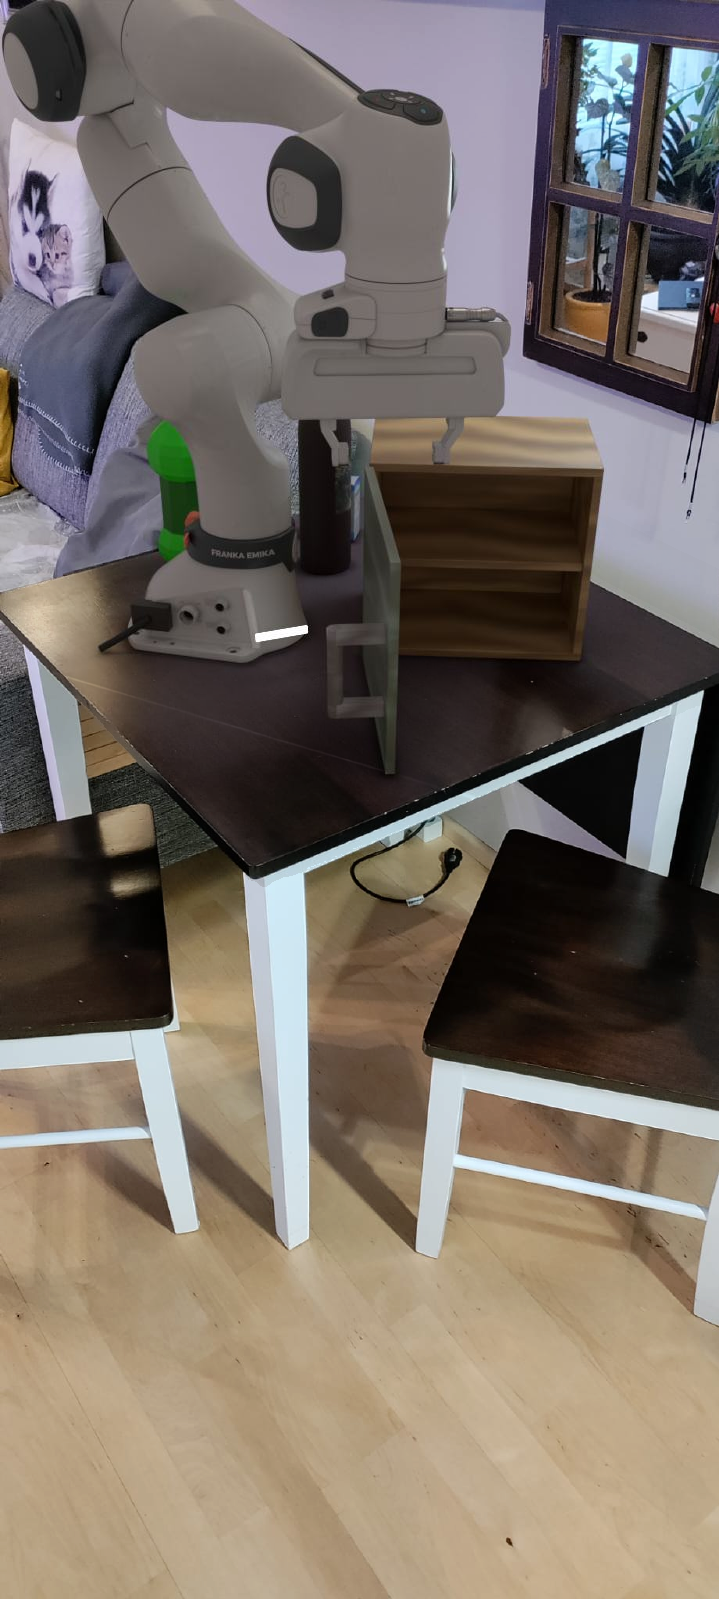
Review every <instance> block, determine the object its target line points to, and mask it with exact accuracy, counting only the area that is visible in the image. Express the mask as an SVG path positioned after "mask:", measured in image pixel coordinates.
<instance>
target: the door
mask: <svg viewBox="0 0 719 1599" xmlns="http://www.w3.org/2000/svg"><path fill="white" fill-rule="evenodd" d="M363 470H364V472H363V474H364V475H363V482H364V483H363V556H362V558H363V559H362V560H363V563H362V565H363V568H362V569H363V570H362V576H363V577H362V623H338V624H335V623H334V624H329V625H328V626H326V680H327V682H326V685H327V686H326V688H327V690H326V691H327V695H326V696H327V698H326V699H327V702H326V703H327V717H328V718H329V719H333V720H336V719H337V720H338V719H339V720H340V719H359V718H360V719H361V718H364V719H365V718H374V723H375V728H376V734H377V738H378V739H377V740H378V744H379V748H380V749H379V750H380V754H381V758H382V765H383V769H384V774H385V775H396V750H397V747H396V746H397V715H398V714H397V712H398V680H399V655H398V648H399V614H400V579H401V561H400V558H399V554H398V551H397V547H396V544H395V540H394V537H393V534H392V530H391V527H390V523H389V520H388V516H387V513H386V509H385V506H384V502H383V499H382V495H381V492H380V488H379V485H378V481H377V478H376V475H375V471H374V468H373V467H369V466H364V468H363ZM344 646H362V661H363V666H364V671H365V676H366V677H365V678H366V682H367V686H368V691H369V696H354V697H353V696H351V697H349V696H348V697H344Z"/></svg>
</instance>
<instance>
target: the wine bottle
mask: <svg viewBox="0 0 719 1599" xmlns="http://www.w3.org/2000/svg"><path fill="white" fill-rule="evenodd" d="M297 421H298V422H297V463H298V466H297V467H298V468H297V469H298V471H297V472H298V513H299V514H298V515H299V554H300V555H299V561H300V565H301V568H302V569H303V570H304V571H307V572H308V573H312V574H317V575H335V574H340V573H343V572H345V571H346V570H348V569H349V568H350V565H351V563H352V562H351V561H352V541H351V476H352V420H351V419H336V430H335V431H333V433H334V435H335V436H336V438H337V440H338V442H347V444H348V448H349V456H348V460H349V464H348V466H333V465H332V448H331V447H330V445H329V443H328V442H327V440H326V438H325V437H324V435H323V433H322V432H321V427H320V420H297Z"/></svg>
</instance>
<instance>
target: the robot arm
mask: <svg viewBox="0 0 719 1599" xmlns="http://www.w3.org/2000/svg"><path fill="white" fill-rule="evenodd" d="M1 50H2V57H3V62H4V66H5V70H6V74H7V76H8V80H9V82H10V84H11V86H12V89H13V91H14V93H15V95H16V97H17V99H18V101H19V102H20V104H21V105H22V106H23V108H24V109H25V110H26V111H28V113H29V114H31V115H32V116H33V117H35V118H36V119H37V120H38V121H41V122H46V123H47V122H48V123H64V122H65V123H66V122H73V121H75V120H76V118H77V117H83V118H82V120H81V121H80V123H79V126H78V128H77V131H76V140H75V142H76V149H77V153H78V154H77V155H78V157H79V160H80V164H81V166H82V169H83V172H84V175H85V177H86V180H87V183H88V185H89V187H90V190H91V192H92V195H93V197H94V200H95V202H96V203H97V206H98V208H99V210H100V212H101V214H102V216H103V217H104V220H105V221H106V224H107V226H108V227H109V230H110V231H111V233H112V235H113V237H114V238H115V240H116V241H117V244H118V246H119V248H120V249H121V251H122V253H123V255H124V256H125V258H126V260H127V262H128V264H129V265H130V267H131V269H132V270H133V272H134V274H135V276H136V278H137V279H138V281H139V283H140V284H141V285H142V287H143V288H144V289H145V290H146V291H147V292H149V293H150V294H151V295H153V297H154V296H155V297H157V298H158V299H160V300H163V301H164V302H168V303H171V304H173V305H175V306H177V307H179V308H181V309H182V310H184V311H185V312H187V313H186V314H181V315H177V316H176V317H173V318H171V319H170V320H168V321H165V322H164V323H161V324H160V325H158V326H156V327H155V328H153V329H151V330H149V331H147V332H146V333H145V334H143V336H141V338H140V339H139V341H138V343H137V346H136V348H135V351H134V352H135V353H134V358H133V359H134V360H133V375H134V380H135V385H136V388H137V390H138V392H139V395H140V397H141V399H142V400H143V402H144V403H145V405H146V406H147V407H148V408H149V410H151V411H152V412H153V413H154V414H155V416H157V417H158V418H159V419H161V420H162V421H163V420H165V421H167V422H168V423H169V424H171V425H172V426H173V427H174V428H175V429H176V430H177V431H178V433H179V434H180V435H181V437H182V438H183V440H184V442H185V444H186V446H187V448H188V450H189V452H190V455H191V458H192V462H193V466H194V471H195V478H196V486H197V495H198V505H199V512H197V511H192V512H190V513H189V515H188V516H187V519H186V521H185V526H186V528H185V530H184V547H185V550H184V551H183V552H181V553H180V554H179V555H177V556H176V557H175V558H173V559H172V560H170V561H169V562H166V563H165V564H163V565H162V566H161V567H159V568H158V569H157V571H155V573H154V575H152V577H151V579H150V581H149V583H148V585H147V588H146V591H145V595H144V596H145V597H144V598H135V599H133V601H132V602H131V603H130V604H129V606H130V618H129V621H128V625H127V628H126V629H125V630H123V631H122V632H119V633H118V634H116V635H115V636H113V637H111V638H110V639H108V640H105V641H104V642H102V643H101V644H99V645H98V646H97V648H98V651H99V652H101V653H104V652H105V651H107V650H109V649H111V648H113V647H115V646H116V645H118V644H119V643H121V642H123V641H124V640H128V643H129V644H130V646H131V647H132V648H133V649H134V650H137V651H138V650H139V651H144V652H152V653H159V654H167V655H175V656H185V657H192V658H200V659H206V660H214V661H221V662H222V661H223V662H231V663H238V664H244V663H245V664H246V663H249V662H252V661H254V660H256V659H258V658H259V657H261V656H262V655H265V654H267V653H271V652H275V651H278V650H282V649H284V648H287V647H289V646H292V645H293V644H295V643H296V642H298V641H300V640H301V639H302V638H303V637H304V636H305V634H308V632H309V631H308V622H307V619H306V617H305V614H304V611H303V610H304V609H303V606H302V603H301V599H300V595H299V589H298V582H297V576H296V565H297V562H298V535H297V533H298V532H297V531H296V520H295V519H294V518H293V516H292V480H291V479H292V478H291V476H292V475H291V464H290V461H289V458H288V456H287V454H286V453H285V452H284V450H283V449H282V448H281V447H280V446H278V445H277V444H276V443H275V442H273V441H271V440H270V439H269V438H266V437H263V436H261V435H260V432H259V429H258V424H257V421H256V408H257V406H259V405H262V404H266V403H270V402H273V401H276V400H279V399H280V405H281V410H282V412H283V413H284V414H285V415H286V416H287V417H288V419H290V420H293V421H299V420H320V427H321V432H322V433H323V435H324V437H325V438H326V440H327V442H328V443H329V445H330V447H331V448H332V465H333V466H348V464H349V460H348V456H349V448H348V444H347V442H338V440H337V438H336V436H335V435H334V433H333V431H335V430H336V419H350V420H375V419H398V418H446V422H447V425H448V427H449V428H448V429H447V431H446V433H445V434H444V436H443V438H442V439H441V441H432V449H433V452H432V462H433V464H434V465H436V464H449V462H450V448H451V447H452V446H453V444H454V443H455V441H456V440H457V438H458V437H459V435H460V434H461V432H462V431H463V429H464V418H466V417H495V416H498V415H499V413H500V412H501V410H503V408H504V406H505V398H506V397H505V394H506V381H505V366H504V365H505V364H504V357H506V355H507V354H508V352H509V350H510V346H511V335H512V326H511V323H510V321H509V319H508V318H507V316H506V315H504V314H503V313H502V312H498V311H497V309H496V308H494V307H488V306H483V307H480V308H472V307H464V306H463V307H459V306H457V307H453V306H449V307H447V290H448V289H447V288H448V262H447V258H446V254H445V253H446V252H445V239H446V234H447V230H448V227H449V223H450V220H451V214H452V212H453V210H454V207H455V204H456V202H457V196H458V191H459V171H458V170H459V169H458V166H457V161H456V157H455V155H454V152H453V150H452V144H451V135H450V129H449V124H448V120H447V117H446V116H447V115H446V113H445V111H444V109H443V108H442V107H441V106H440V105H438V104H437V103H436V101H434V100H433V99H431V98H429V97H427V96H425V95H422V94H419V93H415V92H412V91H404V90H398V89H393V88H392V89H391V88H377V89H370V90H367V91H366V90H364V89H363V88H362V87H361V86H359V85H358V84H356V83H355V82H353V80H351V79H350V78H348V77H347V76H346V75H344V74H343V73H342V72H340V71H339V70H338V69H336V68H335V67H334V66H332V65H331V64H330V63H328V62H327V61H326V60H324V59H323V58H322V57H320V56H318V55H317V54H316V53H314V52H313V51H311V50H310V49H308V48H306V47H304V46H303V45H301V44H299V43H298V42H297V41H295V40H293V39H292V38H290V37H288V36H286V35H285V34H283V33H282V32H281V31H279V30H277V29H276V28H274V27H273V26H271V25H269V24H268V23H266V22H265V21H263V20H262V19H260V18H259V17H258V16H256V15H254V14H253V13H252V12H250V11H249V10H247V9H246V8H245V7H244V6H242V5H241V4H240V3H238V2H237V1H236V0H35V1H33V2H31V3H29V4H27V5H25V6H23V7H22V8H19V9H18V10H17V11H15V12H14V13H13V14H11V16H9V17H8V19H7V22H6V24H5V26H4V30H3V33H2V36H1ZM167 109H169V110H171V111H172V112H174V113H176V114H178V115H180V116H182V117H184V118H187V119H190V120H194V121H200V122H214V123H215V122H217V123H244V124H245V123H246V124H259V125H269V126H273V127H279V128H283V129H287V130H289V131H290V130H291V131H293V132H295V133H296V134H293V135H289V136H288V137H286V138H284V139H283V140H282V141H281V143H280V144H279V145H278V146H277V148H276V150H275V152H274V153H273V155H272V158H271V159H270V162H269V166H268V170H267V174H266V175H267V176H266V190H265V191H266V193H265V194H266V203H267V210H268V213H269V216H270V219H271V222H272V224H273V226H274V228H275V230H276V231H277V233H278V234H279V235H280V237H281V238H282V239H283V240H284V241H285V242H286V243H287V244H288V245H290V246H291V247H292V248H294V249H295V250H297V251H300V252H307V253H308V252H309V253H313V254H323V253H330V252H336V251H337V252H338V251H339V252H341V253H342V254H343V255H344V258H345V263H344V264H345V265H344V274H343V276H344V280H343V281H341V282H339V283H335V284H333V285H330V286H328V287H323V288H321V289H318V290H316V291H312V292H309V293H307V294H304V295H302V294H300V293H297V292H295V291H293V290H292V289H289V288H288V287H286V286H285V285H283V284H282V283H280V282H279V281H277V279H275V278H273V277H272V276H271V275H270V274H269V273H268V272H266V271H265V270H264V269H263V268H262V267H261V266H260V265H259V264H258V263H257V262H255V260H254V259H252V258H251V257H250V255H248V253H246V252H245V251H244V250H243V248H242V247H241V246H240V245H239V244H238V243H237V241H235V239H234V238H233V237H232V235H231V234H230V232H229V231H228V229H227V228H226V227H225V225H224V223H223V221H222V219H221V218H220V217H219V215H218V213H217V211H216V210H215V208H214V206H213V204H212V203H211V200H209V197H208V196H207V194H206V192H205V191H204V188H203V187H202V185H201V183H200V181H199V180H198V178H197V176H196V175H195V172H194V170H193V169H192V168H191V166H190V164H189V162H188V161H187V159H186V157H185V156H184V154H183V152H182V151H181V149H180V148H179V146H178V144H177V143H176V141H175V139H174V136H173V135H172V133H171V129H170V127H169V123H168V116H167V115H168V114H167V113H168V112H167ZM496 318H498V319H496Z"/></svg>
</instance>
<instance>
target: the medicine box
mask: <svg viewBox="0 0 719 1599" xmlns="http://www.w3.org/2000/svg"><path fill="white" fill-rule="evenodd" d="M360 498H361V476H360V475H351V542H355V540H356V538H357V536H358V534H359V532H360V509H361V508H360V506H361V504H360V503H361V499H360Z"/></svg>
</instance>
